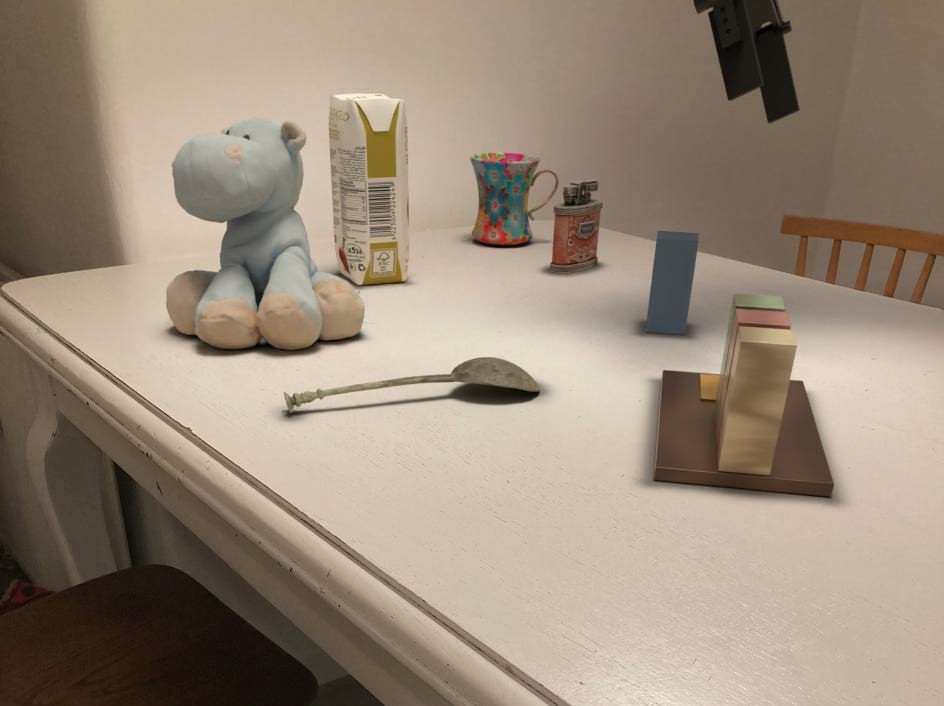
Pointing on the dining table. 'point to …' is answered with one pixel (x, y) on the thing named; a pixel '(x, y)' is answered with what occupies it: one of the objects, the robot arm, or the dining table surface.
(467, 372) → the soupspoon
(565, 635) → the dining table surface
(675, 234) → the blue block
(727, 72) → the robot arm
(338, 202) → the juice carton
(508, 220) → the mug
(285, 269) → the hippo plush
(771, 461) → the block row
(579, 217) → the lighter
